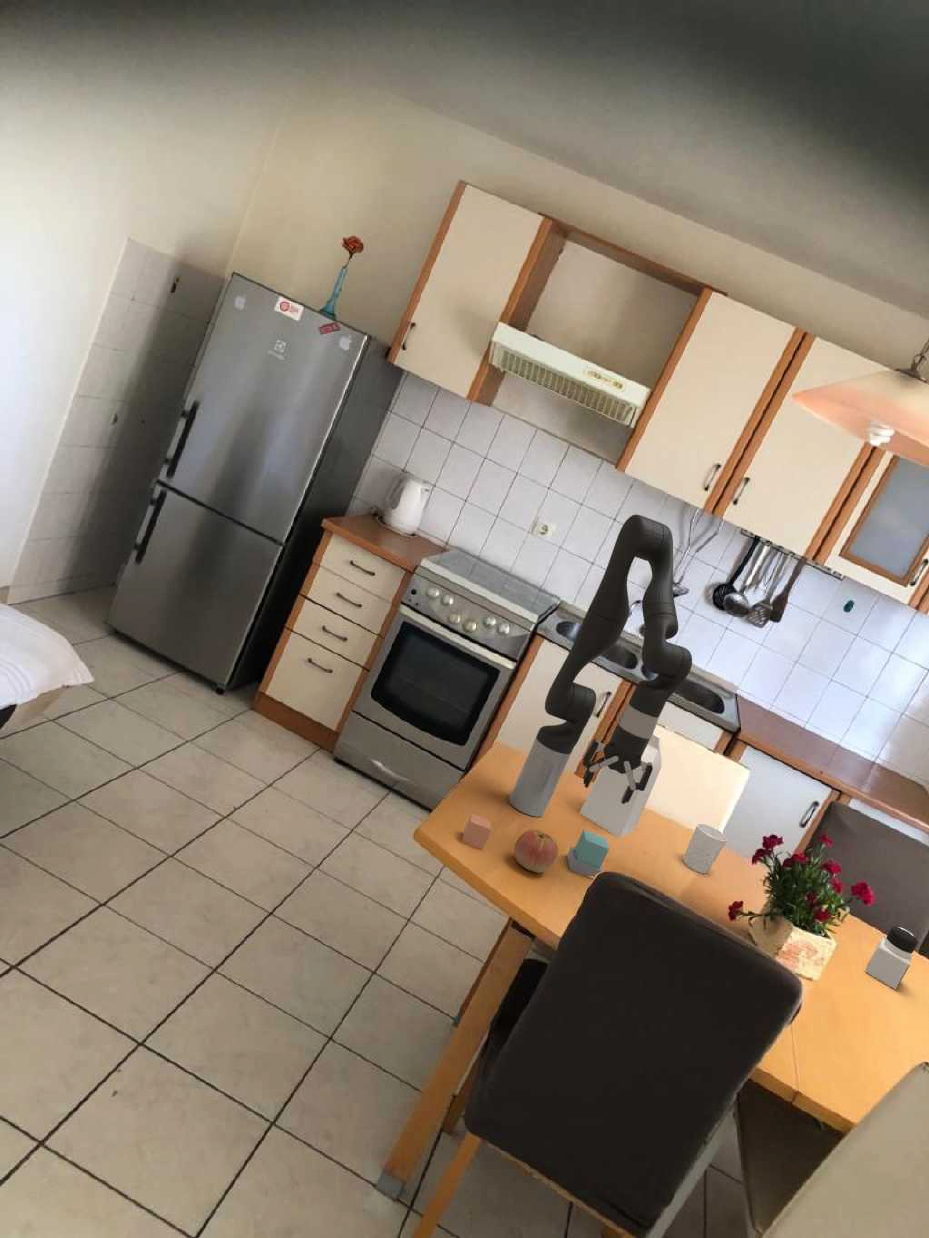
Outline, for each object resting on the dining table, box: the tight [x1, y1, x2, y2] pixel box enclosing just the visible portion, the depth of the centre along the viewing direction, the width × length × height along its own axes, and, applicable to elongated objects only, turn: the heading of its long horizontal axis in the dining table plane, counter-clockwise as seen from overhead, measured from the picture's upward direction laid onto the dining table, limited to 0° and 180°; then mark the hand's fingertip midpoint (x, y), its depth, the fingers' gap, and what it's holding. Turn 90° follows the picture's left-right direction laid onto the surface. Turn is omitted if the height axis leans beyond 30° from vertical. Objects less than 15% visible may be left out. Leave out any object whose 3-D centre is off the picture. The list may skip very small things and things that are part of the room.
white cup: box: [682, 822, 728, 875], centre depth 239 cm, size 8×8×10 cm
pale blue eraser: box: [566, 845, 604, 877], centre depth 212 cm, size 7×7×2 cm
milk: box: [578, 732, 663, 839], centre depth 243 cm, size 12×12×26 cm
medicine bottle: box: [865, 926, 919, 991], centre depth 219 cm, size 7×7×12 cm
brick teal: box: [574, 829, 610, 869], centre depth 211 cm, size 6×6×5 cm
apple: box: [513, 829, 559, 874], centre depth 202 cm, size 9×9×8 cm
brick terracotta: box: [461, 812, 492, 851], centre depth 203 cm, size 4×4×5 cm
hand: (604, 794), depth 208 cm, fingers open, 8 cm apart
